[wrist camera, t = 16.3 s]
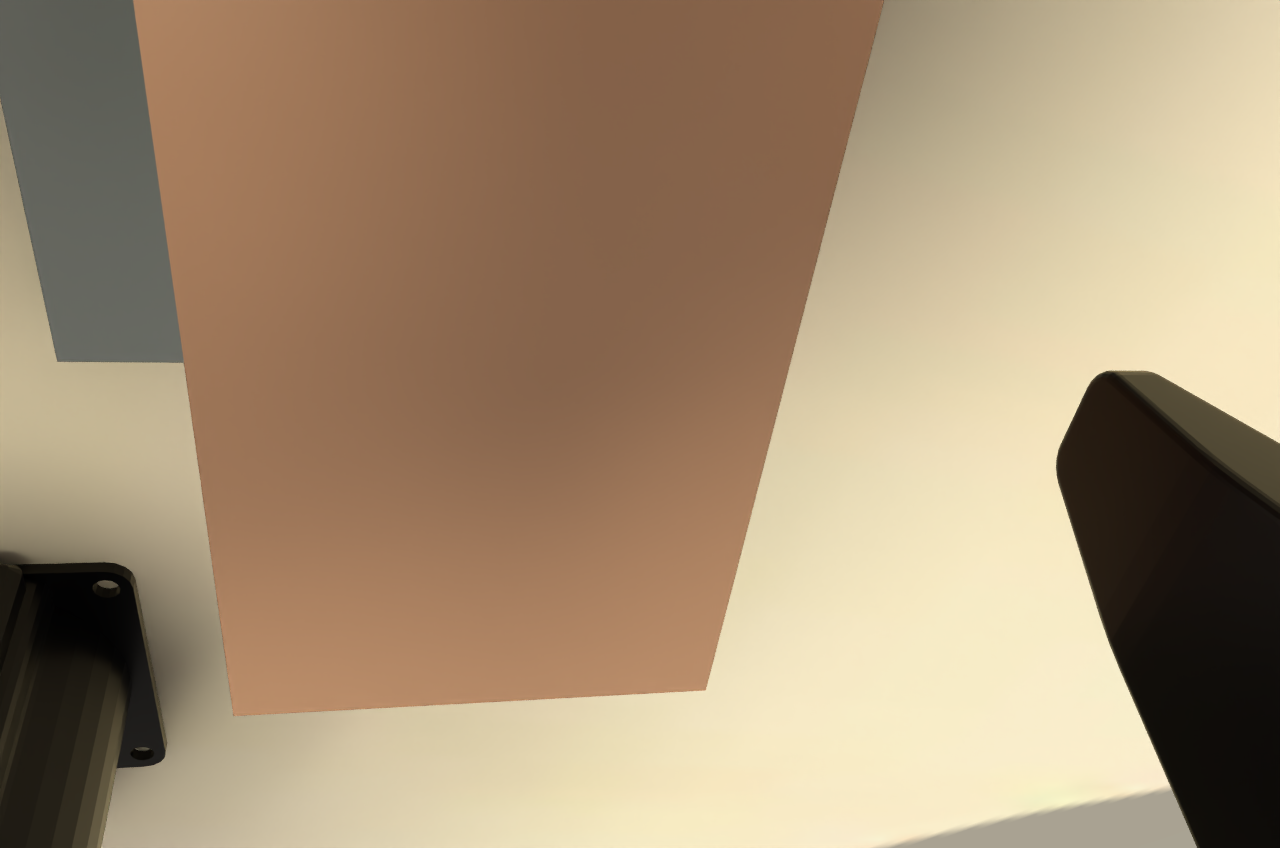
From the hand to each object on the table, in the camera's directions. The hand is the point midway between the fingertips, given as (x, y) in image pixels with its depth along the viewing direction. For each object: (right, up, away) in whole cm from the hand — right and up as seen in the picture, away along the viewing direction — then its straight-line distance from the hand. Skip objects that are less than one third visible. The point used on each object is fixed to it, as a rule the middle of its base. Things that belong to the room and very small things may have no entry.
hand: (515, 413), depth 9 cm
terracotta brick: (-1, +4, +4) cm, 6 cm away
